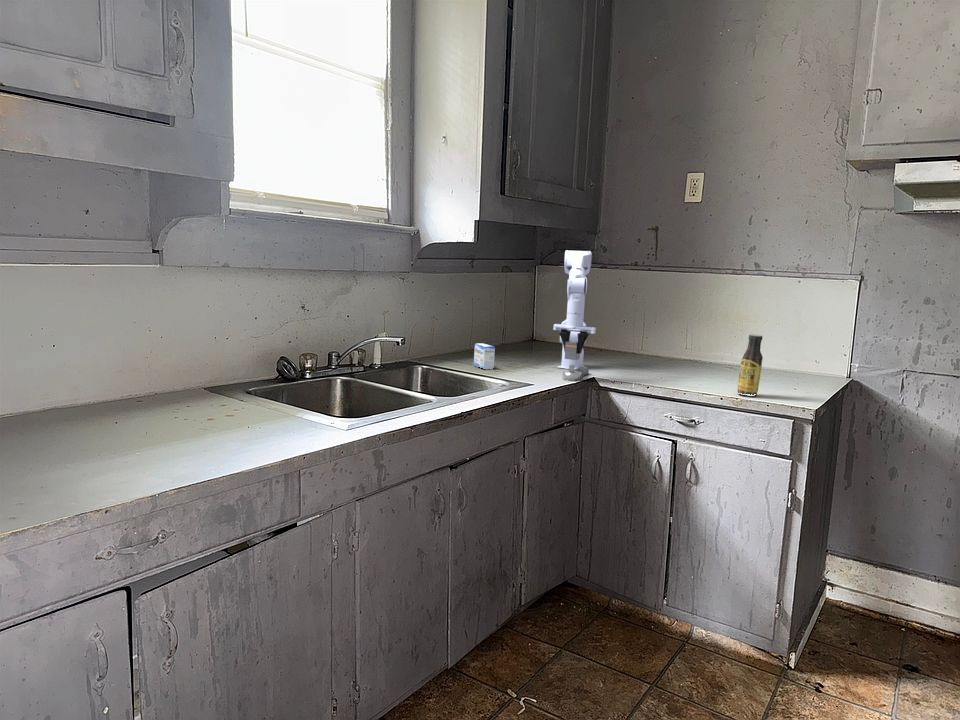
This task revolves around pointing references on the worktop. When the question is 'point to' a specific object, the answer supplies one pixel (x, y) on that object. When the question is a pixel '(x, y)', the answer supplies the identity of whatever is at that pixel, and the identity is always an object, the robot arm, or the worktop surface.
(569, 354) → the socket
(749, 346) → the sauce bottle
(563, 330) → the robot arm
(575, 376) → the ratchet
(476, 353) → the medicine box
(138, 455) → the worktop surface
